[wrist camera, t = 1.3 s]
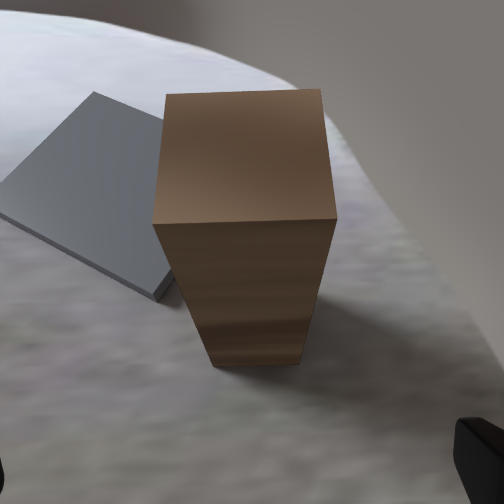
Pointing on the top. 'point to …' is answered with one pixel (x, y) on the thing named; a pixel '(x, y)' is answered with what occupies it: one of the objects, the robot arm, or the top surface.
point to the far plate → (96, 193)
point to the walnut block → (246, 217)
